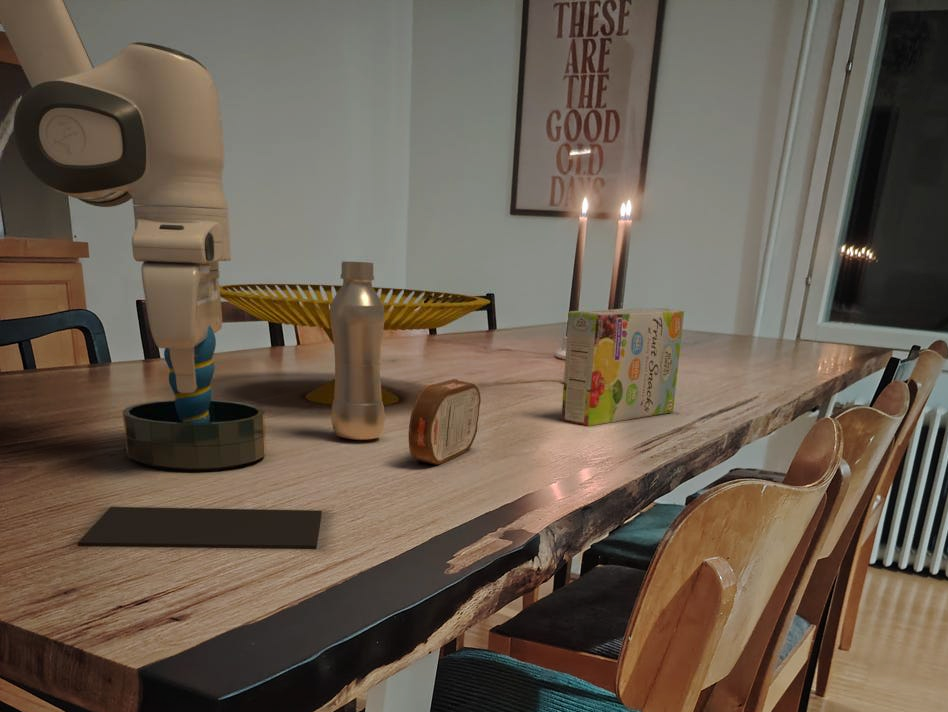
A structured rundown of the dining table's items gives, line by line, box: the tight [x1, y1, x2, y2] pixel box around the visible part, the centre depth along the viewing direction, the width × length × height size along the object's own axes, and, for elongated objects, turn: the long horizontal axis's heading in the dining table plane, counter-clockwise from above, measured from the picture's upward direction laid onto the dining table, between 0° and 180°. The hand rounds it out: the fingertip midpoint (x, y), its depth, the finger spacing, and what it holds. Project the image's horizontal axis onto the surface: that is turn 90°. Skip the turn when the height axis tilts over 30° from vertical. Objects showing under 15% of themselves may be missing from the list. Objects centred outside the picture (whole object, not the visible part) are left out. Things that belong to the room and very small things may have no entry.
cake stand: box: [219, 283, 491, 406], centre depth 137 cm, size 40×40×15 cm
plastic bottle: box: [329, 260, 386, 442], centre depth 108 cm, size 6×7×20 cm
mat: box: [77, 506, 323, 550], centre depth 76 cm, size 18×10×1 cm, turn 97°
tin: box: [408, 378, 481, 465], centre depth 104 cm, size 15×3×8 cm, turn 159°
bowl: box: [121, 399, 267, 472], centre depth 98 cm, size 14×14×5 cm
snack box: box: [560, 307, 685, 427], centre depth 133 cm, size 21×6×15 cm, turn 136°
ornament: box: [163, 325, 217, 423], centre depth 96 cm, size 5×5×15 cm
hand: (195, 384), depth 96 cm, fingers open, 8 cm apart
